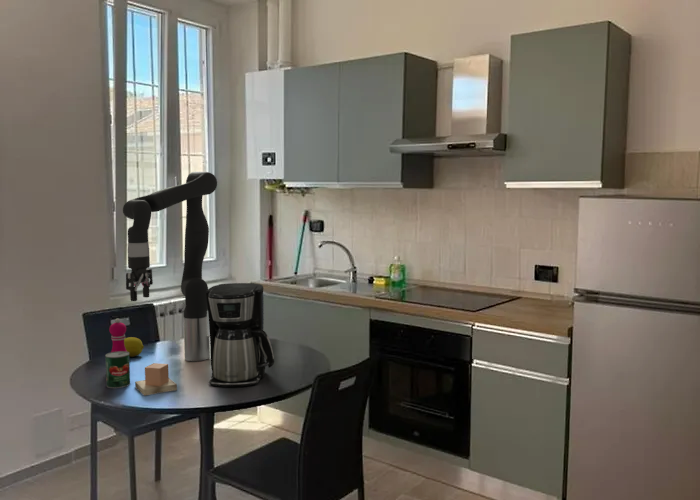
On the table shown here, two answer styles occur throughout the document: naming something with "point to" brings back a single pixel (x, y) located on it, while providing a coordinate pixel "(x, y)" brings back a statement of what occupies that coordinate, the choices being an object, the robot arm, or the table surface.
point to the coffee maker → (237, 334)
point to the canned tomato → (117, 369)
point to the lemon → (133, 346)
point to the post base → (155, 387)
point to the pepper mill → (118, 336)
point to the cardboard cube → (156, 374)
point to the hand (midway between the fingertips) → (140, 299)
